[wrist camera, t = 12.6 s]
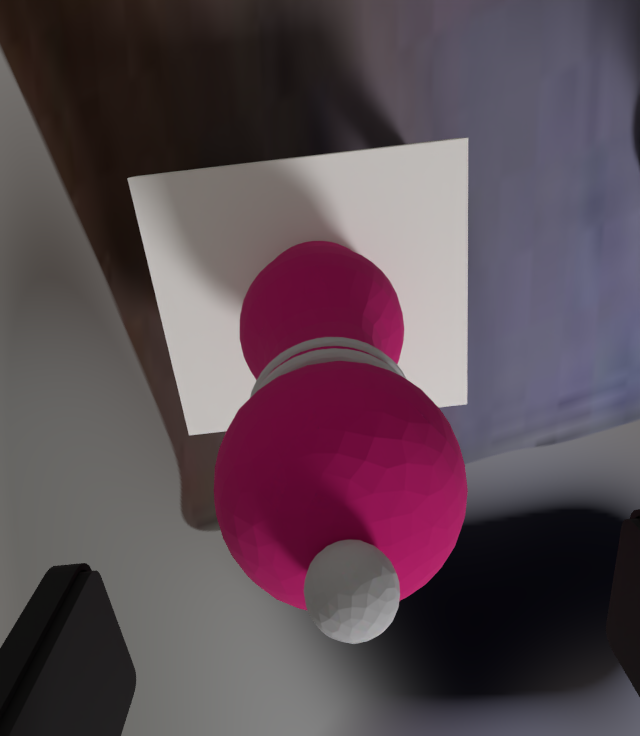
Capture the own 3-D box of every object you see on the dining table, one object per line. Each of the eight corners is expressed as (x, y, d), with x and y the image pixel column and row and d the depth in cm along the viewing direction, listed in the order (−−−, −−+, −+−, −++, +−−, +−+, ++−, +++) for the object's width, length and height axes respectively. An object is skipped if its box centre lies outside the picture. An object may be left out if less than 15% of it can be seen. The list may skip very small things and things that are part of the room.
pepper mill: (229, 252, 26) (62, 515, 8) (370, 212, 26) (548, 393, 7) (272, 379, 29) (224, 792, 11) (400, 345, 28) (583, 719, 10)
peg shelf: (424, 138, 33) (468, 138, 24) (429, 344, 39) (466, 404, 30) (172, 168, 33) (127, 178, 25) (214, 369, 39) (189, 435, 30)
